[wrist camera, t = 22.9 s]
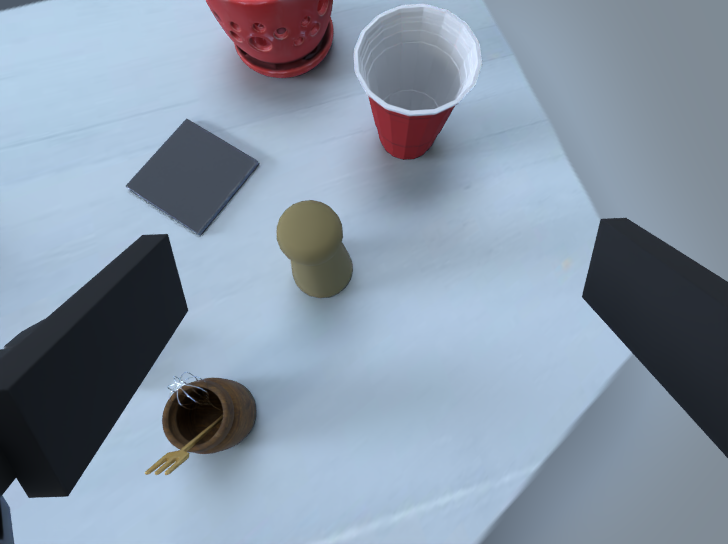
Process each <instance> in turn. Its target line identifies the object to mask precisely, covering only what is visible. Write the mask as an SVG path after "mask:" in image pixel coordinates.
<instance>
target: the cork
mask: <svg viewBox="0 0 728 544" xmlns="http://www.w3.org/2000/svg"><path fill="white" fill-rule="evenodd" d="M342 238H343V231H342V224H341V221H340V219H339V217H338V215H337V214H336V213H335V212H334V211H333V210H332V209H331V208H330V207H329V206H327V205H326V204H324V203H322V202H318V201H313V200H309V201H301V202H298V203H296V204H293V205H292V206H290V207H289V208H288V209H287V210H285V212H284V213H283V214H282V216H281V217H280V219H279V222H278V225H277V241H278V244H279V246H280V249H281V250H282V252H283V253H284V254H285V255H286V256H287V257H288V258H289V259H290V260H291V266H292V273H293V277H294V280H295V282H296V284H297V286H298V287H299V288H300V289H301V290H302V291H303V292H304V293H306V294H308V295H309V296H313V297H317V298H325V297H331V296H333V295H336V294H338V293H339V292H340V291H342V290H343V289H344V288H345V287H346V286H347V284H348V283H349V281H350V279H351V275H352V272H353V268H352V260H351V258H350V256H349V254H348V252H347V250H346V248H345V247H344V245H343V243H342Z"/></svg>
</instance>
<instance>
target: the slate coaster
mask: <svg viewBox="0 0 728 544" xmlns="http://www.w3.org/2000/svg"><path fill="white" fill-rule="evenodd" d="M258 165H259V163H258V161H257V160H255V159H254V158H252V157H250V156H249V155H247V154H245V153H244V152H242V151H240V150H239V149H237V148H235V147H233V146H232V145H230V144H228V143H227V142H225V141H223V140H222V139H220V138H218V137H217V136H215V135H213V134H212V133H210V132H208V131H207V130H205V129H203V128H202V127H200V126H198V125H197V124H195V123H193V122H192V121H190V120H188V119H186V120H185V121H184V122H183V123H182V124H181V125H180V126H179V128H178V129H177V130H176V131H175V132H174V133H173V134H172V135H171V136H170V137H169V139H168V140H167V141H166V142H165V143H164V144H163V145H162V146H161V147H160V149H159V150H158V151H157V152H156V153H155V154H154V155H153V156H152V157H151V158H150V160H149V161H148V162H147V163H146V164H145V165H144V166H143V167H142V168H141V169H140V171H139V172H138V173H137V174H136V175H135V176H134V177H133V178H132V179H131V181H130V182H129V183H128V184H127V185H126V187H127V188H128V189H130V190H131V191H133V192H134V193H136V194H137V195H139V196H140V197H142V198H143V199H145V200H146V201H148V202H149V203H151V204H152V205H154V206H156V207H157V208H159V209H160V210H162V211H163V212H165V213H166V214H168V215H169V216H171V217H172V218H174V219H175V220H177V221H178V222H180V223H182V224H183V225H185V226H186V227H188V228H189V229H191V230H192V231H194V232H195V233H197V234H198V235H201V234H202V233H203V232H204V230H205V229H206V228H207V227H208V226H209V224H210V223H211V222H212V221H213V219H214V218H215V217H216V216H217V215H218V213H219V212H220V211H221V210H222V208H223V207H224V206H225V205H226V204H227V202H228V201H229V200H230V199H231V197H232V196H233V195H234V194H235V193H236V191H237V190H238V189H239V188H240V186H241V185H242V184H243V183H244V182H245V180H246V179H247V178H248V177H249V176H250V174H251V173H252V172H253V171H254V169H255V168H256V167H257V166H258Z"/></svg>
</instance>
